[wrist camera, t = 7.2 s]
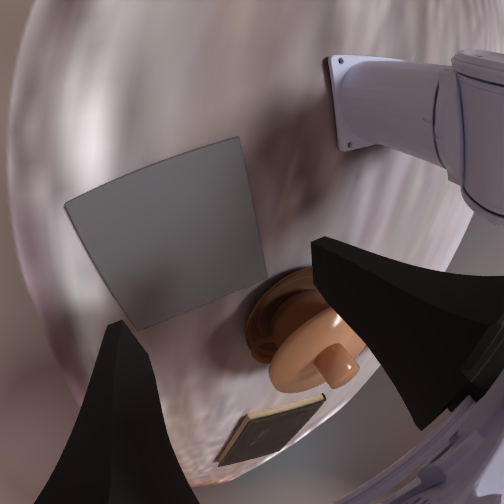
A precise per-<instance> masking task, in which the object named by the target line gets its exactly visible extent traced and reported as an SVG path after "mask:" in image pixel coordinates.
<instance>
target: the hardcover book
mask: <svg viewBox="0 0 504 504" xmlns="http://www.w3.org/2000/svg"><path fill="white" fill-rule="evenodd" d="M325 401H326V397H325V395H324V394H323V393H322V394H321V395H317V396H314V397H311V398H308V399H304V400H301V401H297V402H294V403H290V404H286V405H282V406H279V407H274V408H270V409H266V410H262V411H257V412H253V413H248V414H247V415H246V417H245V418H244V420H243V421H242V423H241V425H240V426H239V428H238V429H237V431H236V433H235V434H234V436H233V437H232V439H231V440H230V442H229V444H228V445H227V447H226V448H225V450H224V451H223V453H222V454H221V456H220V457H219V459H218V462H219V465H218V467H220V466H225V465H230V464H234V463H238V462H242V461H246V460H250V459H254V458H257V457H261V456H264V455H268V454H271V453H274V452H277V451H280V450H281V449H282V448H283V447H284V446H285V445H286V444H287V443H288V442H289V441H290V440H291V439H292V438H293V437H294V436H295V435H296V434H297V433H298V431H299V430H300V429H301V428H302V427H303V426H304V425H305V424H306V423H307V422H308V421H309V420H310V418H311V417H312V416H313V415H314V414H315V413H316V412H317V410H318V409H319V408H320V407H321V406H322V405H323V403H324V402H325Z"/></svg>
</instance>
